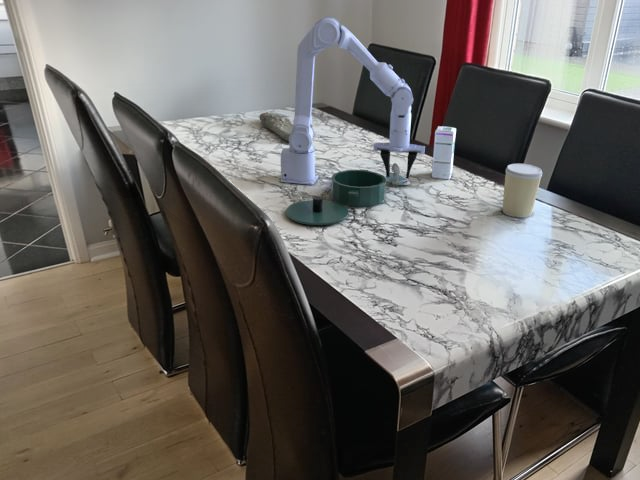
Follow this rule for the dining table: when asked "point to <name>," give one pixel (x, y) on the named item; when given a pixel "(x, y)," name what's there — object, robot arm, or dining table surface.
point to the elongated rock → (277, 124)
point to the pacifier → (396, 176)
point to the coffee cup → (520, 189)
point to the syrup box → (443, 152)
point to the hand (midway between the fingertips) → (397, 176)
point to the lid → (317, 212)
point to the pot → (358, 188)
